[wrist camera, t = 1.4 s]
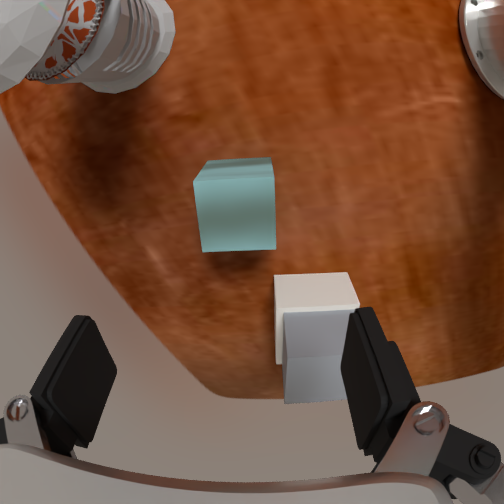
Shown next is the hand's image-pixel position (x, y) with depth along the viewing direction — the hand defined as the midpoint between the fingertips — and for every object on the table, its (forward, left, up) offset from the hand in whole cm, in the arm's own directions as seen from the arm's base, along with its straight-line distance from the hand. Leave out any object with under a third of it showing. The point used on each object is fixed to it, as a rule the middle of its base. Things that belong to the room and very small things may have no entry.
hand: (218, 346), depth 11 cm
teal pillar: (0, 0, -17) cm, 17 cm away
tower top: (+12, +6, -12) cm, 18 cm away
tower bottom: (+12, +6, -17) cm, 21 cm away
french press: (-15, -9, -17) cm, 25 cm away
